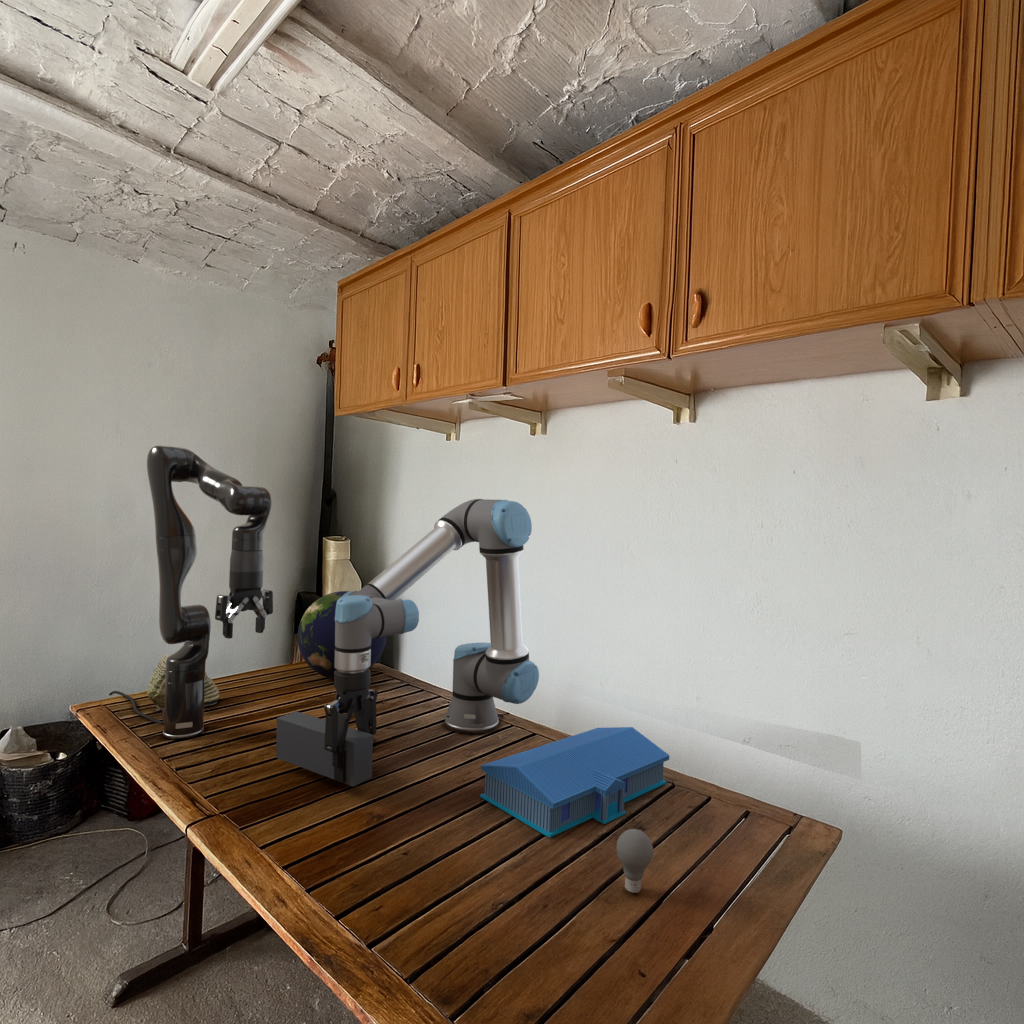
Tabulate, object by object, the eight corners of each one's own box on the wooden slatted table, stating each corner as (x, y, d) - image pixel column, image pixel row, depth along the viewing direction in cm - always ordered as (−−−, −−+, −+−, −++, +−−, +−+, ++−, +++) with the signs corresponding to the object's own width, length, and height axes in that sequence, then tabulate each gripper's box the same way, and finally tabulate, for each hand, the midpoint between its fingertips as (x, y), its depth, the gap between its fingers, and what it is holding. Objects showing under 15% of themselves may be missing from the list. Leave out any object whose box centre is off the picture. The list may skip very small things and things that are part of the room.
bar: (276, 757, 145) (276, 717, 145) (295, 749, 150) (296, 711, 150) (353, 786, 132) (354, 742, 132) (372, 777, 137) (373, 734, 137)
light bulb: (610, 879, 108) (613, 822, 108) (644, 879, 109) (647, 822, 109) (619, 902, 102) (622, 840, 102) (655, 901, 103) (658, 840, 103)
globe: (276, 681, 212) (279, 592, 211) (333, 662, 239) (336, 583, 239) (350, 695, 201) (354, 601, 200) (401, 673, 228) (404, 590, 228)
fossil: (144, 707, 182) (145, 655, 182) (212, 696, 194) (213, 647, 194) (151, 716, 175) (153, 662, 175) (221, 703, 188) (223, 653, 188)
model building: (561, 845, 119) (564, 792, 119) (478, 796, 137) (480, 750, 137) (678, 787, 145) (680, 744, 145) (596, 753, 163) (598, 714, 163)
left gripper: (229, 572, 145) (227, 642, 146) (281, 568, 157) (278, 633, 158) (210, 569, 149) (207, 637, 150) (261, 565, 161) (259, 628, 162)
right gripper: (331, 682, 126) (329, 797, 127) (395, 662, 142) (393, 764, 143) (306, 675, 130) (304, 787, 131) (370, 656, 146) (368, 756, 146)
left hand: (244, 635), depth 154 cm, fingers open, 8 cm apart
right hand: (350, 774), depth 137 cm, fingers closed on bar, 5 cm apart
